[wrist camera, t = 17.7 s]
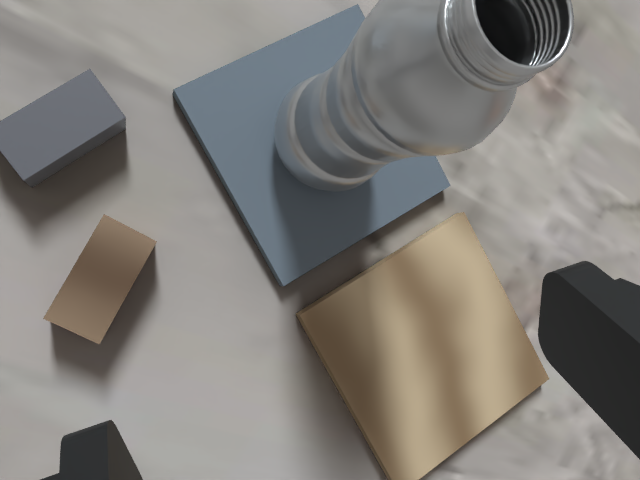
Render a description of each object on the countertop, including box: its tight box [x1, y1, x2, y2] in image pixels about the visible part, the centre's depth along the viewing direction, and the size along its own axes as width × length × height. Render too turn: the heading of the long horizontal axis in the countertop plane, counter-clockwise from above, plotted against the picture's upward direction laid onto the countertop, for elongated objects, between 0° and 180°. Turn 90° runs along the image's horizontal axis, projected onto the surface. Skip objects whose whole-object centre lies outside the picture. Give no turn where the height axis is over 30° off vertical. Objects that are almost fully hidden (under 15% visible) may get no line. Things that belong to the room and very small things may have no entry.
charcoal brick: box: [0, 69, 126, 187], centre depth 32 cm, size 6×3×3 cm, turn 127°
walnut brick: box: [43, 214, 157, 344], centre depth 32 cm, size 6×3×3 cm, turn 153°
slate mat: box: [173, 4, 450, 286], centre depth 37 cm, size 13×13×1 cm
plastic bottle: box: [274, 0, 574, 192], centre depth 27 cm, size 6×7×20 cm
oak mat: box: [296, 212, 549, 480], centre depth 39 cm, size 13×13×1 cm
